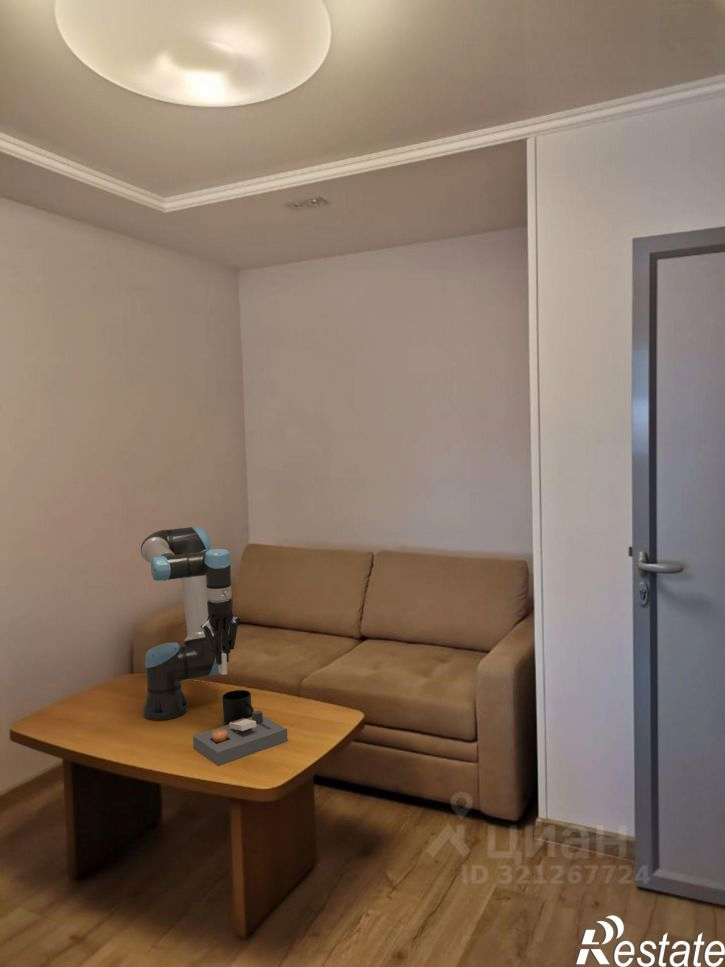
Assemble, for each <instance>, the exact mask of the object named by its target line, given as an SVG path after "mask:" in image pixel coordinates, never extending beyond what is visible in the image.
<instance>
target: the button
mask: <svg viewBox="0 0 725 967" xmlns="http://www.w3.org/2000/svg"><path fill="white" fill-rule="evenodd" d="M212 738H213V742H215V743H216V744H218V743H221V742H224V741H226V740H227V730H225V729H218V730H215V731H213V732H212Z"/></svg>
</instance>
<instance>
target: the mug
mask: <svg viewBox="0 0 725 967" xmlns="http://www.w3.org/2000/svg"><path fill="white" fill-rule="evenodd" d="M221 699H222V712H223V714H222V715H223V716H222V717H223V718H222V719H223V723H224V725H225V726H226V725H229V723H230V722H233V721H237V720H240V719H248V718H251V717H252V712H254V707H253V706H252V694H251V692H250V691H248V690H243V689H237V690H230V691H227V692H224V694H223V695H222V698H221Z"/></svg>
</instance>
